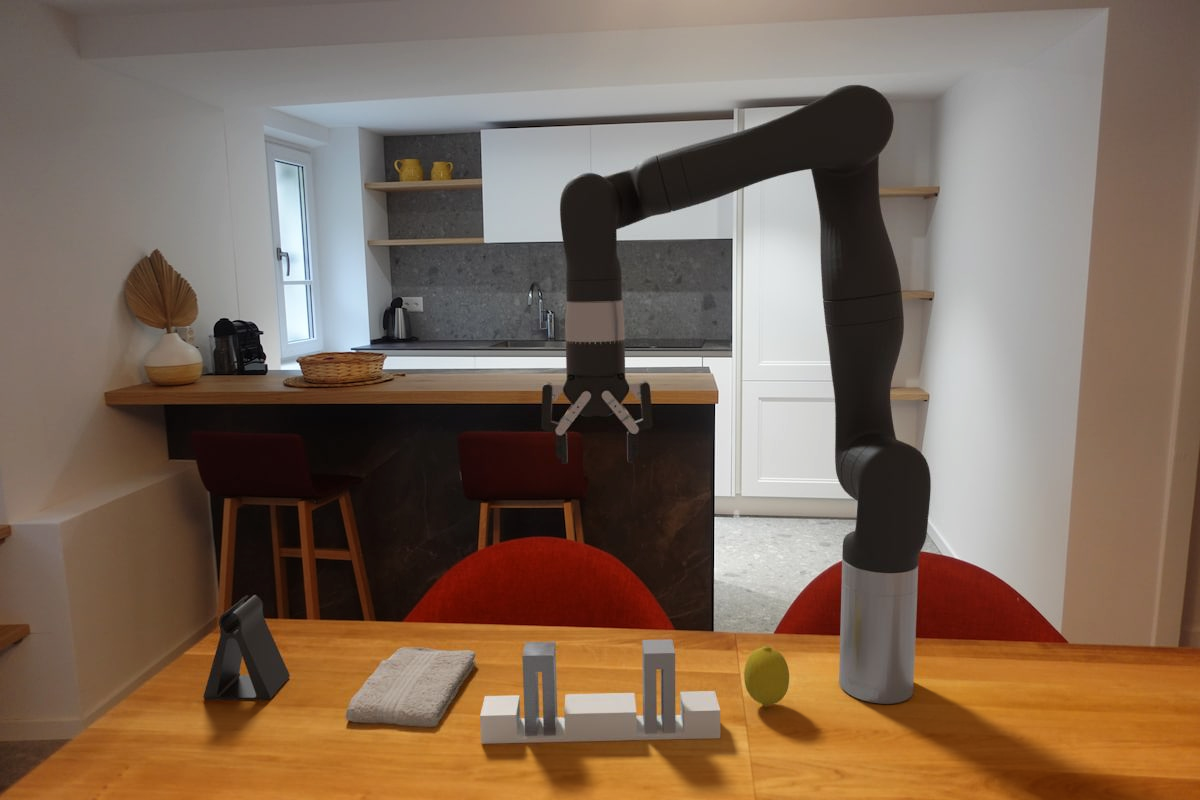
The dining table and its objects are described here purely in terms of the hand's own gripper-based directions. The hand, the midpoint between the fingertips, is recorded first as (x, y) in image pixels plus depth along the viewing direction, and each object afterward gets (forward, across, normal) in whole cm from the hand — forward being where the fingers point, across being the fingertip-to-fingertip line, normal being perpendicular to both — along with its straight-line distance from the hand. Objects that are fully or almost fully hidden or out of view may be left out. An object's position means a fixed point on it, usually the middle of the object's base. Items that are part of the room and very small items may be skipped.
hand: (597, 461), depth 105 cm
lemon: (+30, +20, -8) cm, 37 cm away
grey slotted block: (+30, -7, -13) cm, 33 cm away
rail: (+30, 0, -13) cm, 33 cm away
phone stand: (+30, -48, -1) cm, 56 cm away
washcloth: (+31, -25, -2) cm, 39 cm away
